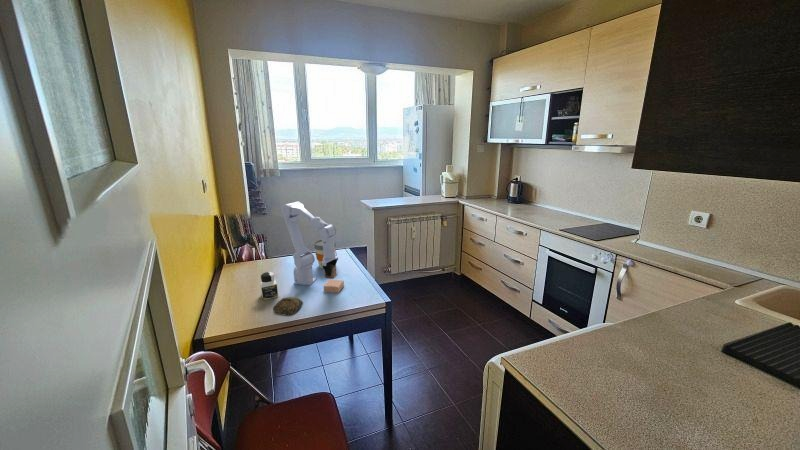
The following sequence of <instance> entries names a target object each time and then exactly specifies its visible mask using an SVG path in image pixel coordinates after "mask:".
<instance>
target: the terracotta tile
mask: <svg viewBox="0 0 800 450" xmlns="http://www.w3.org/2000/svg"><path fill="white" fill-rule="evenodd" d="M344 286H345V281H344V280H341V279H329V278H328V281H326V282H325V284H324V285H323V292H324V293H325V292H327V293H338V294H339V292H341V290H342V289H343V288H344Z"/></svg>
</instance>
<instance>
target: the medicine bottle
mask: <svg viewBox="0 0 800 450" xmlns="http://www.w3.org/2000/svg"><path fill="white" fill-rule="evenodd" d="M259 283H260V291H261V296H262V300H263V301H264V300H269V299H274V298H278V297H279V290H278V283H277V281H276V278H275V274H274V272H271V271H265V272H263V273H261V275H260V281H259Z"/></svg>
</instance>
